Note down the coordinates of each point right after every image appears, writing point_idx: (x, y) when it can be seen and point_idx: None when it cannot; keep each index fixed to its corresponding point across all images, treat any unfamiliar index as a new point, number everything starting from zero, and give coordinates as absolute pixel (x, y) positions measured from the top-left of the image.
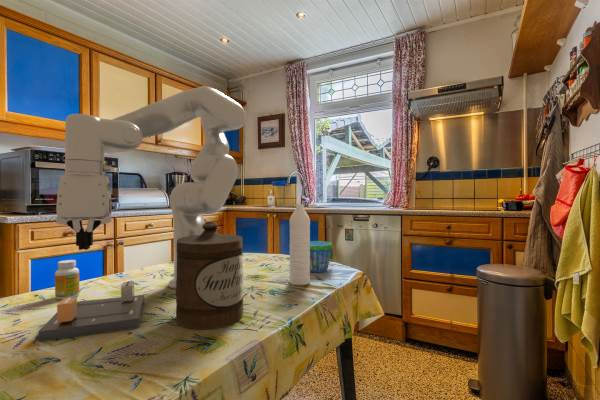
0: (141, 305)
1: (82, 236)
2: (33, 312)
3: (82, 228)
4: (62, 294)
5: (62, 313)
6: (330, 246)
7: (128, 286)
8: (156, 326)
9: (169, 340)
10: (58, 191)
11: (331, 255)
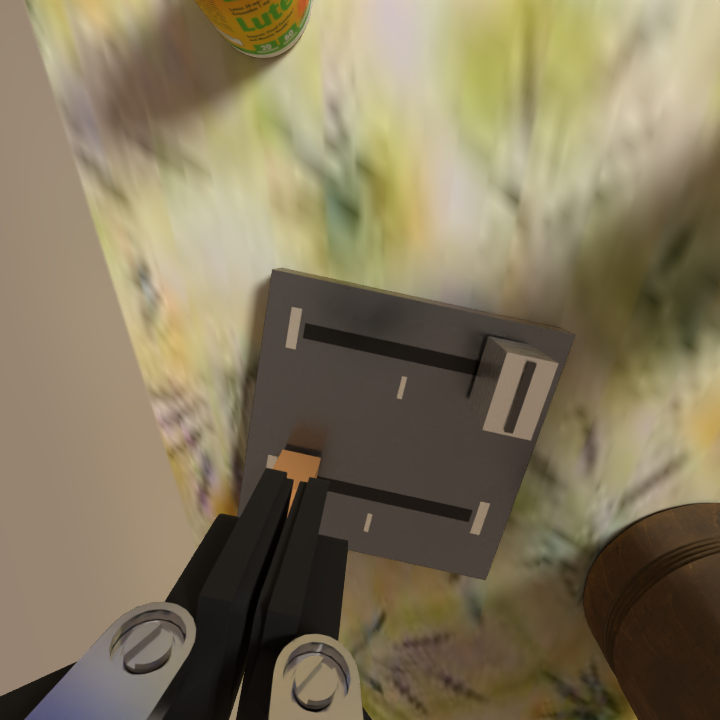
0: (525, 469)
1: (238, 685)
2: (170, 207)
3: (186, 717)
4: (237, 45)
5: None
6: None
7: (513, 436)
8: (525, 573)
9: (526, 663)
10: None
11: None
